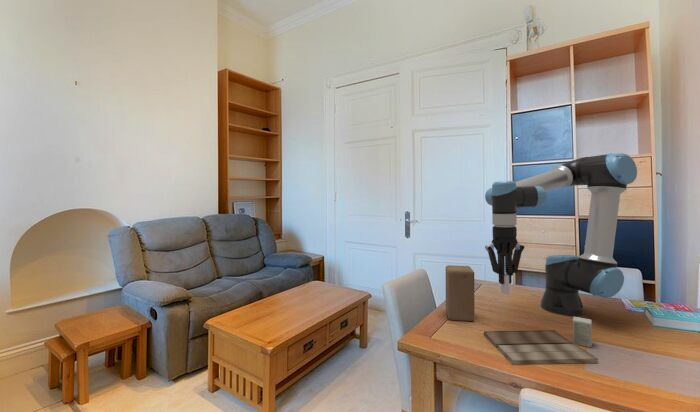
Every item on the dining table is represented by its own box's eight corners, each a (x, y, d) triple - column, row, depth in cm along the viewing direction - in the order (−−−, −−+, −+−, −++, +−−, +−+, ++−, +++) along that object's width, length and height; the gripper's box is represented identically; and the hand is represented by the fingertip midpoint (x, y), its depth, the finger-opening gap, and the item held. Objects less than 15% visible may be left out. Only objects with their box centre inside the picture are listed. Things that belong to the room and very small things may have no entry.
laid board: (575, 347, 100) (575, 343, 100) (597, 362, 91) (597, 358, 91) (497, 349, 99) (497, 345, 99) (512, 364, 90) (512, 360, 90)
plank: (554, 333, 110) (554, 330, 110) (572, 346, 101) (572, 341, 101) (484, 335, 109) (484, 331, 109) (496, 347, 100) (496, 343, 100)
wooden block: (474, 322, 120) (474, 271, 120) (448, 320, 122) (447, 270, 122) (470, 312, 130) (470, 265, 130) (445, 311, 132) (445, 264, 132)
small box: (591, 342, 103) (592, 319, 102) (591, 348, 99) (592, 323, 99) (573, 338, 106) (573, 315, 106) (572, 343, 102) (572, 319, 102)
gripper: (516, 224, 111) (517, 288, 112) (480, 225, 111) (482, 290, 112) (529, 226, 104) (530, 295, 105) (490, 227, 104) (491, 297, 105)
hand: (505, 292), depth 108 cm, fingers closed
